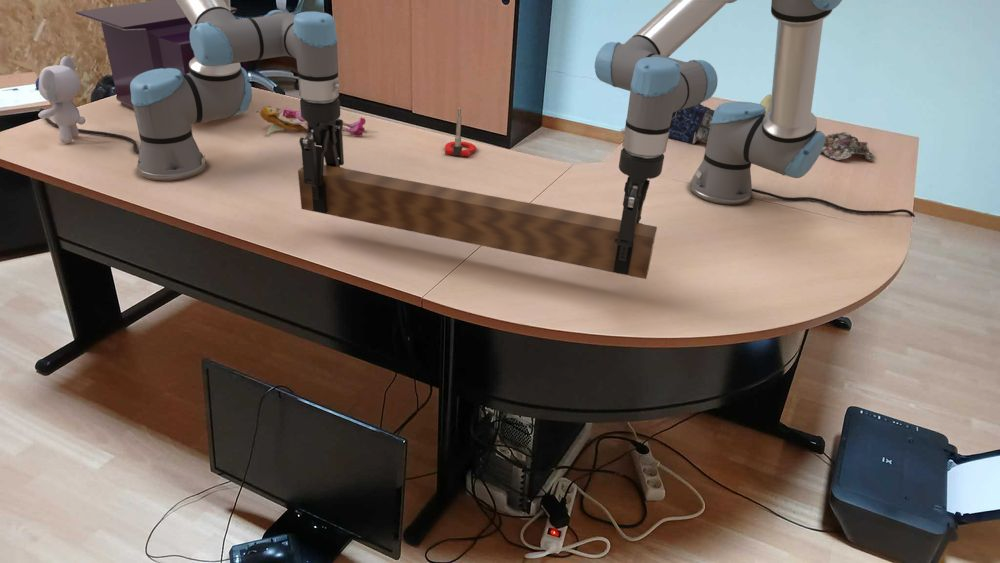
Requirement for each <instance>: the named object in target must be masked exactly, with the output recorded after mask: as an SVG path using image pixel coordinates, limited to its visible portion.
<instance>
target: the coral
mask: <svg viewBox="0 0 1000 563" xmlns="http://www.w3.org/2000/svg"><path fill="white" fill-rule="evenodd" d="M821 153H824V155H825V156H827V157H828V158H830V159H832V160H835V161H839V160H840V161H841V160H844V159H848V158H851V157H852V155H853V154H854V155H857V154H859V155H860V156H861V158H863V159H865V160H866V161H871V162H874V160H875V159H874V158H875V155H874V154H873V153H872V152H871V151H870V149H869V147H868V142H867V141H859V139H858V137H855V136H853V135H852V134H851V133H849V132H848V131H846V132H844V131H843V132H836V133H830V134H827V135H825V143H824V146H823V148H822V151H821ZM873 157H874V158H873Z"/></svg>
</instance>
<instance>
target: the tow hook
mask: <svg viewBox="0 0 1000 563" xmlns="http://www.w3.org/2000/svg"><path fill="white" fill-rule="evenodd" d="M461 133H462V108H461V107H458V108H457V116H456V129H455V136H454V141H450V142H447V143H446V144H444V149H445V151H444V153H445V154H446V155H453V156H459V157H461V156H462V157H470V155H471V154H472V153H474V152H476V150H477V147H476V145H475V144H474V143H471V142H467V141H462V136H461ZM463 147H466V149H463Z"/></svg>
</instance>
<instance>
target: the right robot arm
mask: <svg viewBox="0 0 1000 563" xmlns="http://www.w3.org/2000/svg"><path fill="white" fill-rule="evenodd" d="M737 1H738V0H671V1H670V2H669V3H668V4H667V5H666V6H665V7H663V8H662V9H661V10H660V11H659V12H658V13H656V15H655V16H654V17H652V18H651V19H650V20H649V21H648V22H647V23H646V24H644V25H643V26H642V27H641V28H640V29H639V30H638V31H637V32H636V33H634V35H632V37H630V38H629V39H628V40H626V41H625V42H624V43H621V42H619V41H617V42H615V41H609V42H606V43H605V44H603V45H602V46H601V47H600V48H599V50H598V52H597V54H596V57H595V61H594V69H595V70H594V72H595V75H596V78H597V79H598V80H599V81H601V82H603V83H604V84H607V85H610V86H612V87H614V88H618V89H621V90H625V91H628V92H629V99H628V106H627V114H626V119H625V126H624V128H621V129H620V134H621V135H623V139H622V147H623V148H622V149H621V150H620V154H619V162H618V169H619V171H620V172H621V173H622V174H623V175H625V176H627V179H626V181H625V183H624V184H625V185H624V189H623V192H624V196H623V201H622V206H623V208H622V214H621V219H620V220H621V225H620V231H619V237H618V239H615V241H614V243H617V245H618V247H617V253H616V259H615V265H614V271H613V272H612V273H614V272H615V273H614V274H618V273H620V274H619V275H623V274H624V276H628V271H629V266H630V260H631V255H632V249H633V238H634V233H635V228H636V223H640V224H643V223H642V222H640V221H641V219H642V212H643V207H644V202H645V200H646V197H647V193H648V190H649V186H650V183H651V180H653V179H656V178H657V177H659V176H660V175H661V174H662V172H663V166H664V161H665V153H666V151H667V147H668V141H669V132H670V123H671V119H672V114H673V112H677V111H679V110H682V109H685V108H689V107H692V106H696V105H699V104H701V105H702V103H704V102H705V101H708V100H709V99H711V98H712V97H713V96H714V94H715V92H716V90H717V87H718V81H719V78H718V74H717V71H716V68H714V66H713V65H712V64H711V63H710V62H708V61H706V60H703V59H691V60H688V61H683V60H679V59H676V58H672V57H671V56H672V55H673V54H674V53H675V52H676V51H677V50H678V49H679V48H680V47H682V45H684V44H685V43H686V42H687V41H688V40H689V39H690V38H691V37H692V36H693V35H695V33H697V31H699V30H700V29H701V28H702V27H703V26H704V25H705V24H706V23H707V22H708V21H709V20H710V19H711V18H713V16H715V15H716V14H717V13H718V12H719V11H720V10H721V9H722V8H723V7H725V5H727V4H733V3H735V2H737ZM842 1H843V0H771V4H770V13H771V15H772V17H773V18H774V19H776V20H777V28H776V38H775V51H774V52H775V53H774V63H773V74H772V75H773V76H772V86H771V95H772V98H771V110H770V112H769V113H767V114H766V115H765V113H766V111H765V107H764V106H762V105H761V104H760V103H758V102H752V101H727V102H724V103H721V104H719V105H718V106H716V107H715V109H714V115H713V118H712V121H711V126H710V131H709V136H708V140H707V142H706V145H705V150H704V154H703V159H702V161H701V163H700V165H699V166H698V168H697V169H696V171H695V173H694V174H693V176H692V179H691V181H690V184H689V189H690V191H691V193H693V194H694V196H696V197H698V198H700V199H702V200H704V201H707V202H710V203H713V204H717V205H726V206H727V205H729V206H734V205H742V204H745V203H747V202H749V201H750V199H751V197H752V192H753V193H757V194H762V195H766V196H769V197H773V198H775V199H779V200H785V201H814V202H819V203H822V204H825V205H828V206H831V207H834V208H836V209H839V210H841V211H845V212H850V213H855V214H863V215H865V214H870V215H871V214H872V215H873V214H877V215H883V214H885V215H889V214H890V215H891V214H898V213H906V214H908V215H910V217H913V218H916V215H915V214H914V213H913V212H912V211H911V210H909V209H904V208H901V209H892V210H859V209H852V208H848V207H844V206H841V205H838V204H836V203H833V202H831V201H828V200H824V199H821V198H818V197H811V196H799V197H798V196H797V197H791V196H790V197H789V196H782V195H777V194H774V193H772V192H767V191H763V190H760V189H755V188H753V186H752V174H751V167H752V165H755V166H757V167H760V168H763V169H765V170H767V171H771V172H774V173H775V174H776V173H777V174H780V175H781V176H786V177H790V178H793V179H800V178H802V177H804V176H806V175H807V173H809V172H810V170H811V169H812V168H813V166H814V165H815V163H816V162H817V160H818V159H819V157H820V155H821V153H822V152H821V151H822V148H823V146H824V143H825V137H826V134H825V133H824V132H822V131H821V130H817V124H818V120H817V116H816V115H815V114H814V113H813V112H812V109H813V101H814V93H815V86H816V77H817V72H818V71H817V70H818V63H819V54H820V48H821V41H822V32H823V25H824V19H826V18H827V17H829V16H830V15H831V14H832V12H833V10H834V9H836V8H837V7H838V6H839V5H840V4H841V3H842Z"/></svg>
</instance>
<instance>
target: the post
mask: <svg viewBox="0 0 1000 563" xmlns="http://www.w3.org/2000/svg"><path fill="white" fill-rule="evenodd" d="M297 176H298V177H297V178H298V186H299V198H300V207H301V208H300V209H301V210H304V211H310V212H314V213H316V212H315V211H313V199H312V187H311V185H308V184H305V183H304V174H303V166H302V167H301V168H299V169H298V170H297ZM323 183H325V189H326V205H327V212H326V213H322V214H324V215H330V216H332V217H333V216H334V217H339V218H343V219H347V220H354V221H358V222H363V223H368V224H373V225H376V226H382V227H388V228H393V229H398V230H403V231H408V232H413V233H418V234H422V235H427V236H432V237H437V238H442V239H446V240H452V241H457V242H462V243H467V244H471V245H476V246H481V247H486V248H491V249H495V250H501V251H504V252H505V251H506V252H509V253H510V252H511V253H516V254H521V255H525V256H530V257H535V258H539V259H540V258H541V259H544V260H550V261H555V262H559V263H566V264H570V265H574V266H580V267H585V268H589V269H594V270H598V271H605V272H608V273H609V272H610V273H613V274H616V273H615V272H613V271H614V265H615V259H616V253H617V247H618V245H617V243H614V241H615V239H618V237H619V231H620V225H621V219H619V218H618V219H617V218H612V217H607V216H601V215H596V214H591V213H585V212H580V211H574V210H569V209H564V208H559V207H553V206H549V205H548V206H547V205H543V204H538V203H532V202H527V201H521V200H515V199H509V198H504V197H500V196H499V197H498V196H493V195H488V194H483V193H478V192H473V191H467V190H463V189H456V188H451V187H447V186H441V185H436V184H429V183H426V182H425V183H424V182H419V181H413V180H409V179H402V178H398V177H392V176H386V175H382V174H375V173H370V172H366V171H360V170H356V169H355V170H353V169H350V168H344V167H342V168H339V167H334V166H328V165H326V164H324V167H323ZM317 213H319V214H321V213H320V212H317ZM640 223H641V222H639V223H636V228H635V233H634V238H633V249H632V255H631V260H630V266H629V271H628V275H627V277H628V276H629V277H633V278H634V277H635V278H639V279H644V280H647V277H648V274H649V270H650V265H651V261H652V257H653V250H654V247H655V246H654V245H655V241H656V234H657V229H658V226H656V225H650V224H644V223H642V224H640ZM617 274H619V275H621V274H620V273H617ZM622 275H624V274H622ZM624 276H625V275H624Z"/></svg>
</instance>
